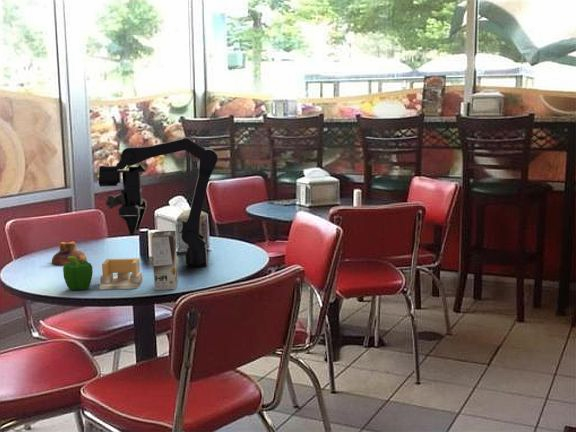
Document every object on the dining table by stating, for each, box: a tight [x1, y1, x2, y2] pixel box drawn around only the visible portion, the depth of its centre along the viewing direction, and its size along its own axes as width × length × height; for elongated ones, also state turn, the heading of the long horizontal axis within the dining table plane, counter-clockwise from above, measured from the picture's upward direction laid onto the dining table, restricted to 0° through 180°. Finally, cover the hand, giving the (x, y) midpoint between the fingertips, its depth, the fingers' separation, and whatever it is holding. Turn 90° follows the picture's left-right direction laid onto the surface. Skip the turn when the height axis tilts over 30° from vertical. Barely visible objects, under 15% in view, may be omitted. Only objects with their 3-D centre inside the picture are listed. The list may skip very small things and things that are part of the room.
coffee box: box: [151, 230, 179, 291], centre depth 212 cm, size 9×6×16 cm
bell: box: [51, 241, 87, 266], centre depth 247 cm, size 12×12×7 cm
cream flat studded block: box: [99, 271, 144, 290], centre depth 216 cm, size 11×12×3 cm
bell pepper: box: [62, 256, 94, 291], centre depth 211 cm, size 8×8×10 cm
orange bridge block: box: [101, 257, 141, 277], centre depth 216 cm, size 10×7×4 cm, turn 92°
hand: (134, 232), depth 234 cm, fingers open, 9 cm apart
